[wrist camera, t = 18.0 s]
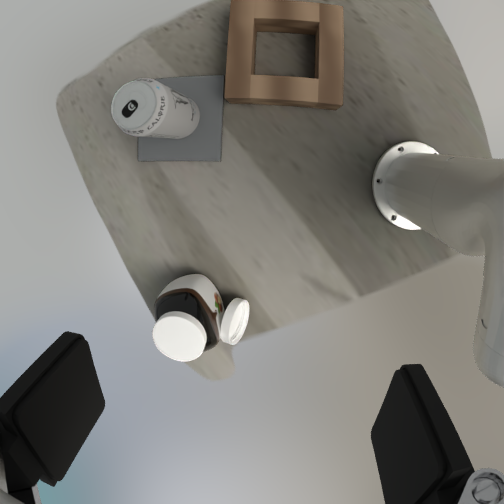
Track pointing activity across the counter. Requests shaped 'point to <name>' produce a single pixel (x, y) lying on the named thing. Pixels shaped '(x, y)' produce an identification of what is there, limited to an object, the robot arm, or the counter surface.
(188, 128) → the energy drink can
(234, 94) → the walnut frame
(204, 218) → the counter surface
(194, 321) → the spread jar
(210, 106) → the rubber mat
